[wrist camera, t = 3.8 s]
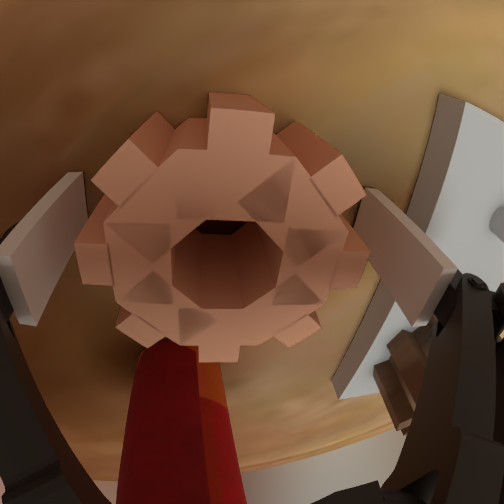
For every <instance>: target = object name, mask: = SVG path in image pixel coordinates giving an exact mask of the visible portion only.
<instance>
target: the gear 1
mask: <svg viewBox="0 0 504 504" xmlns="http://www.w3.org/2000/svg"><path fill="white" fill-rule="evenodd" d="M274 119H275V113H274V112H272V111H271V110H270V109H268V108H267V107H265V106H264V105H263V104H261V103H260V102H258V101H257V100H256V99H254V98H253V97H251V96H250V95H242V94H230V93H216V92H209V100H208V111H207V118H191V117H189V118H187V119H186V120H185V121H184V122H183V123H182V124H180V125H179V126H178V127H177V128H176V129H174V128H173V127H172V125H171V124H170V123H169V122H168V121H167V120H166V119H165V118H164V117H163V116H162V115H161V114H160V113H159V112H158V111H156V112H155V113H154V114H153V115H152V116H151V117H150V118H149V119H148V120H147V121H146V122H145V123H144V124H143V125H142V126H141V127H139V128H138V129H137V130H136V131H135V132H134V133H133V134H132V135H131V136H130V137H129V138H128V140H127V141H126V142H125V143H124V144H123V145H122V146H121V147H120V148H119V149H118V150H117V151H116V152H115V153H114V154H113V155H112V157H111V158H110V159H109V160H108V161H107V162H106V163H105V164H104V165H103V167H102V168H101V169H100V170H99V171H98V172H97V173H96V175H95V176H94V177H93V178H92V179H91V181H92V182H93V183H94V184H95V185H96V186H97V187H98V188H99V189H100V190H101V191H102V192H104V193H105V194H104V195H103V197H102V198H101V200H100V201H99V203H98V205H97V206H96V208H95V209H94V211H93V212H92V214H91V215H90V217H89V219H88V220H87V222H86V224H85V225H84V227H83V228H82V230H81V232H80V233H79V235H78V237H77V239H76V240H75V242H74V247H75V252H76V257H77V262H78V266H79V271H80V275H81V279H82V283H83V284H89V285H108V286H113V289H114V295H115V300H116V303H118V304H119V305H120V309H119V313H118V317H117V321H116V326H115V328H116V329H118V330H119V331H121V332H123V333H124V334H126V335H127V336H129V337H130V338H132V339H133V340H135V341H137V342H138V343H140V344H141V345H143V346H145V347H146V348H149V347H150V346H152V345H153V344H155V343H156V342H158V341H159V340H161V339H162V338H164V337H165V336H166V337H168V338H169V339H171V340H172V341H174V342H175V343H177V344H178V345H185V346H198V351H199V362H238V356H239V350H240V346H243V345H260V344H261V343H263V342H265V341H266V340H268V339H270V338H271V337H273V336H274V337H275V338H277V339H278V340H279V341H281V342H282V343H283V344H285V345H286V346H287V347H288V348H289V347H291V346H293V345H295V344H296V343H298V342H300V341H301V340H303V339H305V338H306V337H308V336H310V335H311V334H313V333H315V332H316V331H318V330H319V329H321V328H322V327H321V324H320V322H319V319H318V317H317V314H316V312H315V310H316V309H318V308H320V307H321V306H323V305H324V304H325V302H326V299H327V296H328V293H329V290H330V289H351V288H357V287H358V284H359V282H360V279H361V276H362V274H363V271H364V269H365V266H366V263H367V261H368V258H369V255H370V250H369V249H368V248H367V246H366V245H365V244H364V242H363V241H362V240H361V238H360V237H359V236H358V234H357V233H356V232H355V231H354V229H353V228H352V227H351V225H350V224H349V223H348V222H347V220H346V219H345V218H344V216H343V215H342V214H341V213H343V212H344V211H345V210H347V209H348V208H350V207H351V206H352V205H354V204H355V203H356V202H358V201H359V200H361V199H362V198H363V197H365V196H366V193H365V191H364V189H363V188H362V186H361V184H360V183H359V181H358V179H357V177H356V176H355V174H354V173H353V171H352V169H351V168H350V166H349V164H348V163H347V161H346V160H345V158H344V156H343V155H342V154H341V153H340V152H339V151H337V150H336V149H335V148H333V147H332V146H331V145H329V144H328V143H326V142H325V141H324V140H322V139H321V138H320V137H318V136H317V135H315V134H314V133H313V132H311V131H310V130H308V129H307V128H305V127H304V126H303V125H301V124H300V123H298V122H297V121H294V122H293V123H291V124H290V125H288V126H287V127H286V128H284V129H283V130H282V131H280V132H279V133H278V134H276V135H275V134H274V133H273V126H274ZM205 220H231V221H249V222H247V223H246V224H245V225H243V226H242V227H241V228H239V229H238V230H237V231H235V232H234V233H233V234H231V235H223V234H201V233H200V232H199V231H198V230H197V229H196V227H197V226H199V225H200V224H201V223H202V222H204V221H205Z"/></svg>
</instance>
